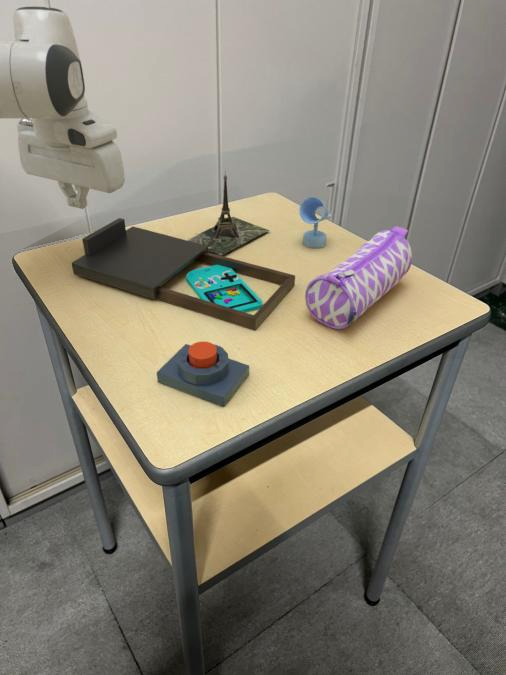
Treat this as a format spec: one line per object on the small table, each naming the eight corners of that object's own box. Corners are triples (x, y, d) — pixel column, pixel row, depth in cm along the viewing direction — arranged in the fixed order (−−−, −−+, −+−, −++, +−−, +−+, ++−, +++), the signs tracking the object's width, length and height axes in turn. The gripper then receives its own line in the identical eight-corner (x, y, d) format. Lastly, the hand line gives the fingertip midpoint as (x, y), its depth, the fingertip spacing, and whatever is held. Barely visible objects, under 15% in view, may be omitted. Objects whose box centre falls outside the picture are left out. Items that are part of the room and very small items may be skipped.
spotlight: (318, 253, 98) (331, 239, 103) (323, 203, 92) (337, 191, 97) (294, 247, 100) (308, 234, 105) (298, 197, 94) (313, 186, 99)
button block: (157, 382, 68) (155, 361, 66) (186, 353, 73) (185, 333, 71) (223, 407, 64) (223, 386, 62) (249, 375, 69) (249, 354, 67)
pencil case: (349, 343, 76) (358, 287, 70) (296, 320, 80) (301, 266, 74) (410, 283, 90) (422, 233, 84) (362, 266, 94) (370, 218, 89)
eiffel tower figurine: (221, 259, 96) (220, 188, 88) (182, 243, 100) (177, 175, 92) (270, 232, 105) (272, 166, 97) (231, 218, 110) (231, 155, 102)
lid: (73, 274, 89) (67, 246, 86) (133, 236, 101) (130, 211, 98) (154, 299, 83) (151, 271, 80) (208, 256, 95) (207, 230, 92)
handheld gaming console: (226, 261, 93) (265, 302, 82) (226, 266, 94) (264, 308, 83) (182, 271, 90) (216, 315, 79) (182, 276, 90) (216, 320, 80)
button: (183, 364, 66) (182, 353, 65) (198, 348, 69) (198, 338, 68) (207, 372, 65) (207, 362, 64) (222, 357, 67) (221, 346, 66)
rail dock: (77, 274, 90) (75, 264, 89) (131, 240, 101) (130, 231, 99) (255, 330, 78) (255, 319, 76) (294, 285, 88) (295, 275, 87)
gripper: (0, 120, 85) (21, 201, 93) (97, 139, 78) (111, 224, 86) (29, 112, 89) (47, 189, 98) (124, 129, 82) (134, 211, 90)
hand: (78, 206), depth 92 cm, fingers closed
